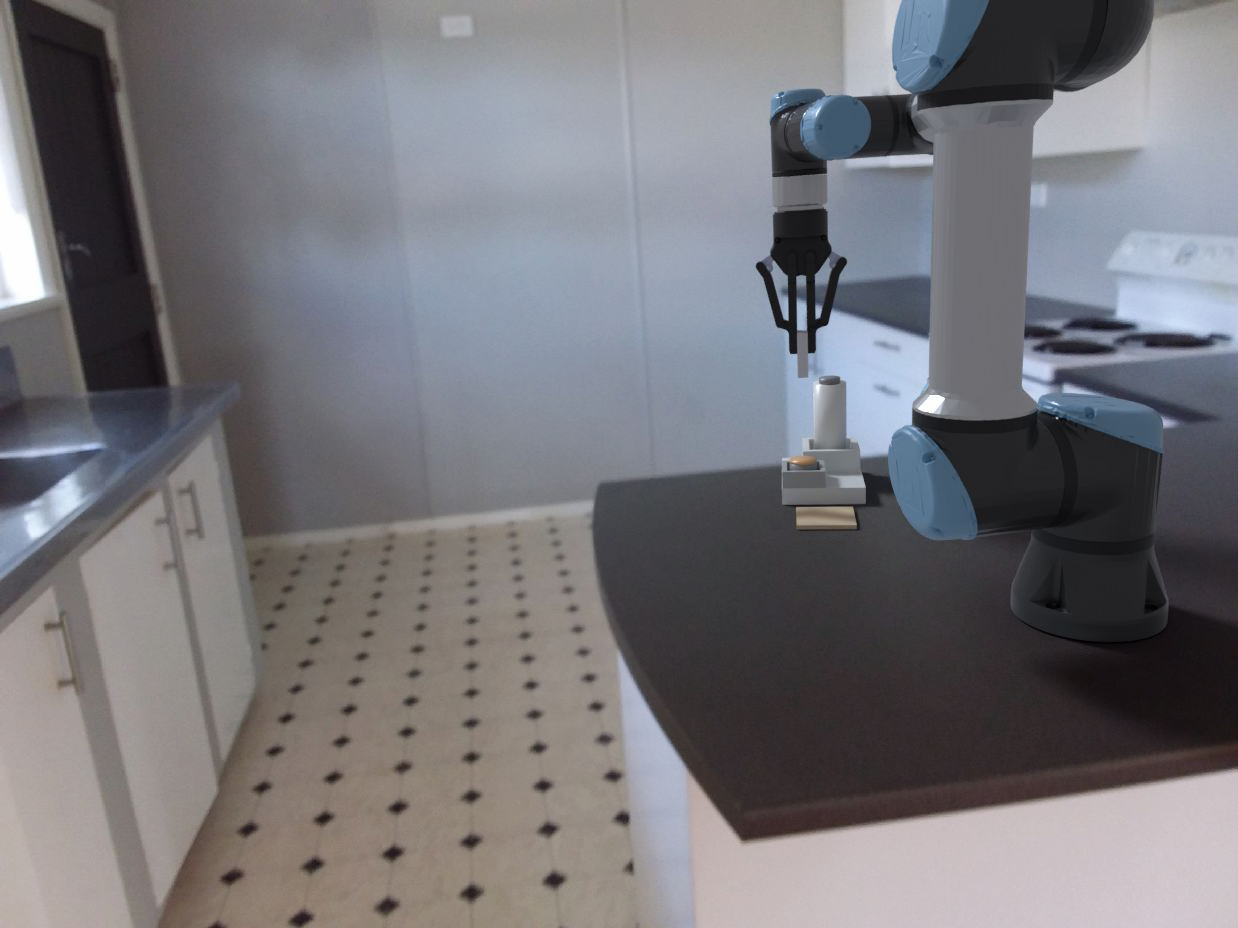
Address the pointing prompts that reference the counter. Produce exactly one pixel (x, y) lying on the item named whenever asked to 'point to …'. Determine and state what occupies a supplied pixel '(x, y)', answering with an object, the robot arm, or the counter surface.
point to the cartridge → (829, 413)
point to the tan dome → (803, 463)
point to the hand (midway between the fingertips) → (802, 376)
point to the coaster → (825, 518)
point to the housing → (825, 477)
